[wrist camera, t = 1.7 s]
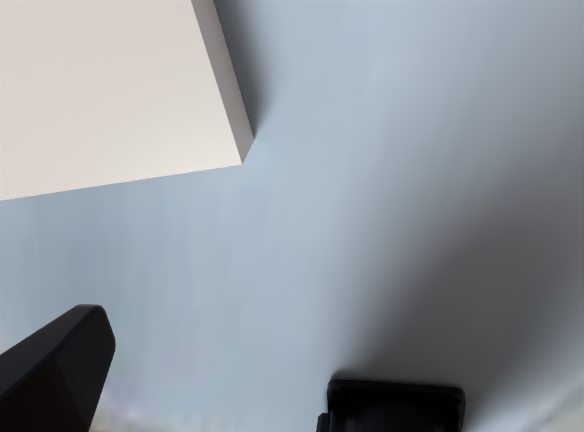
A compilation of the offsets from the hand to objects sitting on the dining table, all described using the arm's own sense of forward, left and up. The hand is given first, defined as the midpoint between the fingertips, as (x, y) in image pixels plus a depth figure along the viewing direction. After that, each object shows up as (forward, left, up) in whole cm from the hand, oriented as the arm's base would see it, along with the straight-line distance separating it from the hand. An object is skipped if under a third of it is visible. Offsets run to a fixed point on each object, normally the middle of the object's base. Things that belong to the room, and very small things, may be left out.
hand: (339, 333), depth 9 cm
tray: (+13, 0, -13) cm, 18 cm away
